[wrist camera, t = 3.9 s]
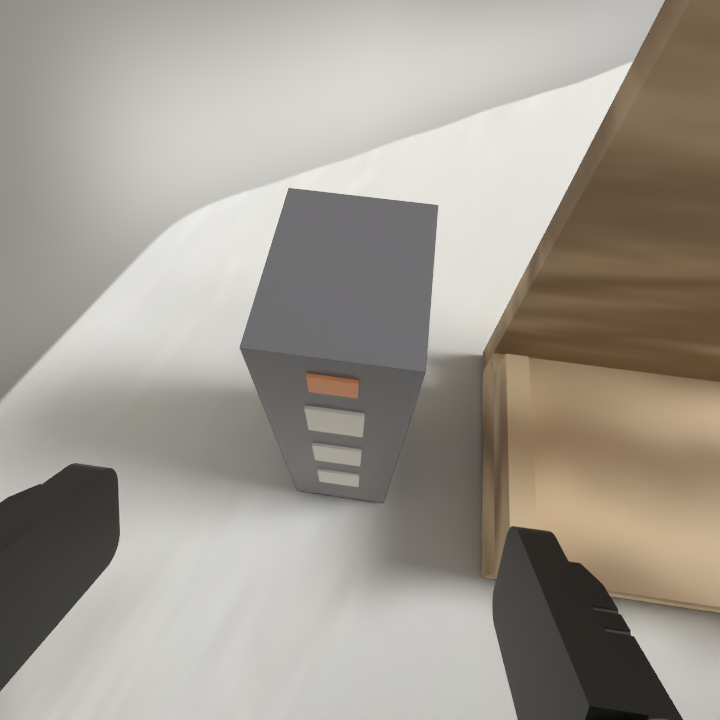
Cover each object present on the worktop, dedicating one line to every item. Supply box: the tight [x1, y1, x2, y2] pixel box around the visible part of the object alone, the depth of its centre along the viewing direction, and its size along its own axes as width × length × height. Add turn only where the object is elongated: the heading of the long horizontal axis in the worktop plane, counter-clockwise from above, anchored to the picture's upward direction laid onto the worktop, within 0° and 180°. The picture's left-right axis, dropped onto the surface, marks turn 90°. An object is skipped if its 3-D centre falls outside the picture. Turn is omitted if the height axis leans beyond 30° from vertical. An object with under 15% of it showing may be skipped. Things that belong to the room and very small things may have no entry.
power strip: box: [240, 188, 438, 503], centre depth 17 cm, size 5×4×13 cm
